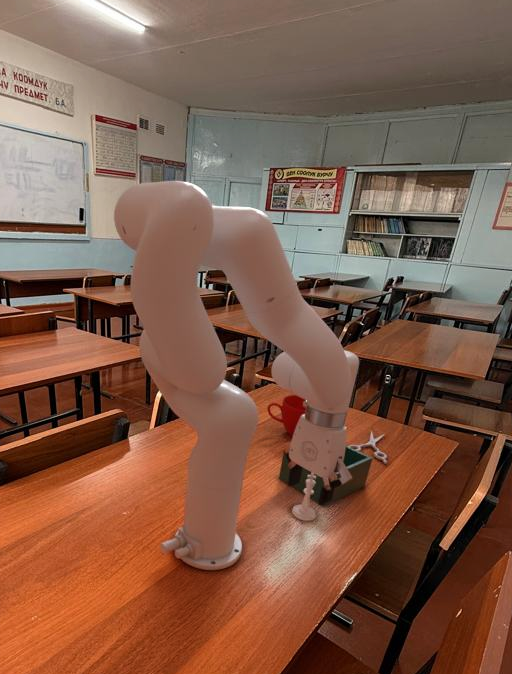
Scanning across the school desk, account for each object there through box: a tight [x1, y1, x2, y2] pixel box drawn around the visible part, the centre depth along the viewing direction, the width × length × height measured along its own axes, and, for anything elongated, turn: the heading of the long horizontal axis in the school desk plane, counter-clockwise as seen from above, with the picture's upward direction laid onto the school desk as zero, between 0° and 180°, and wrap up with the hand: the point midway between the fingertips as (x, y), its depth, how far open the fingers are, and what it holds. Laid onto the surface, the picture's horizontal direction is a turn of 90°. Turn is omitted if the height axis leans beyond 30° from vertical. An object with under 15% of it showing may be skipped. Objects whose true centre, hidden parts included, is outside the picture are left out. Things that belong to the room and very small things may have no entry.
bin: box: [278, 445, 374, 507], centre depth 103 cm, size 16×14×8 cm
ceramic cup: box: [267, 394, 307, 438], centre depth 127 cm, size 13×17×10 cm
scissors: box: [348, 429, 388, 465], centre depth 125 cm, size 11×1×20 cm
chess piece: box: [291, 472, 317, 522], centre depth 90 cm, size 5×5×10 cm
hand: (308, 492), depth 90 cm, fingers open, 7 cm apart
